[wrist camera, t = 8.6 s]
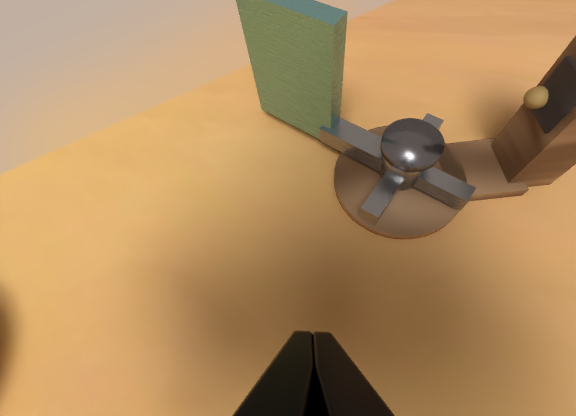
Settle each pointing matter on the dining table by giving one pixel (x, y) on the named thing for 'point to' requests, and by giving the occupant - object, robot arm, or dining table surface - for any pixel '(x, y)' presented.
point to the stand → (480, 160)
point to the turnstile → (338, 100)
